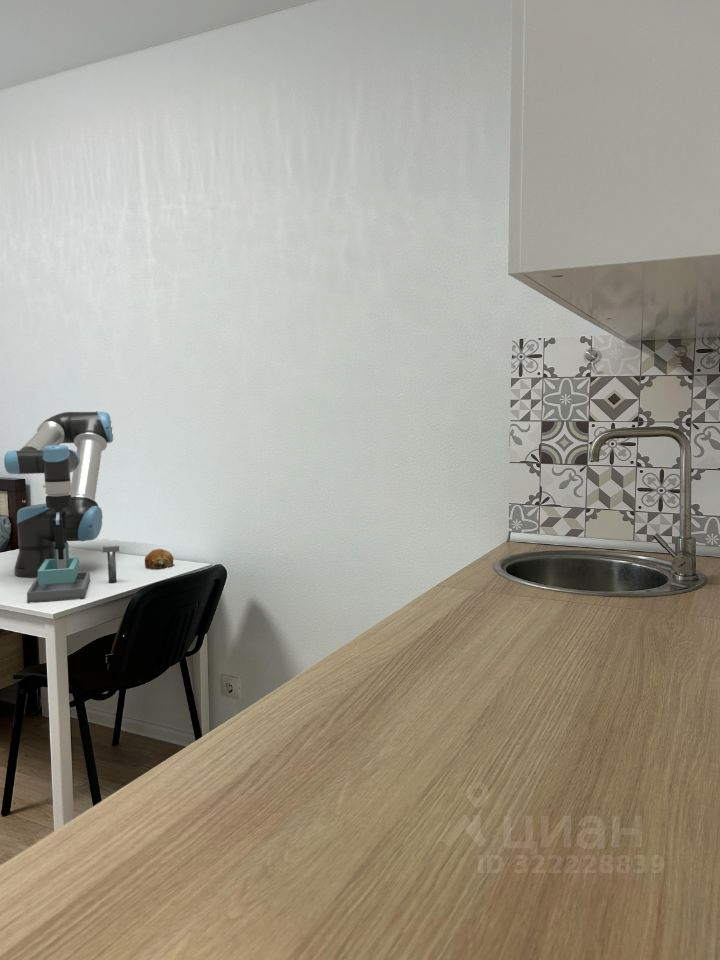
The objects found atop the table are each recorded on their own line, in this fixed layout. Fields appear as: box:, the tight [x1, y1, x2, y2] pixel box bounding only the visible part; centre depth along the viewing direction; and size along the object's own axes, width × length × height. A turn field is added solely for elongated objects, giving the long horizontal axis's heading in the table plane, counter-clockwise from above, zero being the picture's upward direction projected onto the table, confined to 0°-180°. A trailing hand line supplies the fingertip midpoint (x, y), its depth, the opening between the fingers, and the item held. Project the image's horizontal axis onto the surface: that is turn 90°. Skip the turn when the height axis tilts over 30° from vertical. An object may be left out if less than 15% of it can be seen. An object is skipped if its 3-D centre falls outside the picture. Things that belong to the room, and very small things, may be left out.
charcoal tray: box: [26, 571, 91, 603], centre depth 237 cm, size 24×16×3 cm, turn 15°
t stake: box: [102, 545, 120, 584], centre depth 248 cm, size 2×5×12 cm, turn 105°
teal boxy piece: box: [37, 541, 80, 585], centre depth 236 cm, size 18×10×9 cm, turn 15°
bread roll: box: [144, 548, 174, 570], centre depth 271 cm, size 10×10×8 cm
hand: (62, 568), depth 244 cm, fingers closed on teal boxy piece, 1 cm apart
